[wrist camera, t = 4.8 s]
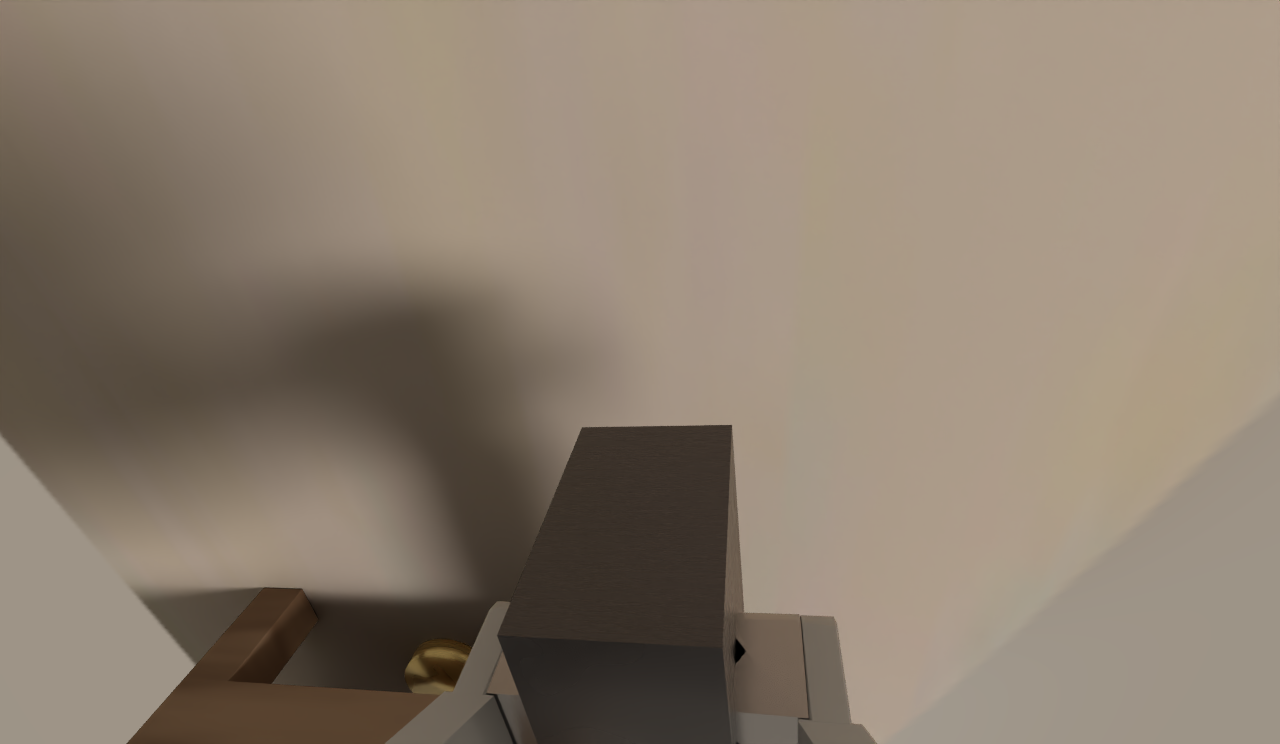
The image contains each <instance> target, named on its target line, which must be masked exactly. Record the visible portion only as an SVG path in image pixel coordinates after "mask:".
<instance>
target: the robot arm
mask: <svg viewBox="0 0 1280 744" xmlns="http://www.w3.org/2000/svg"><path fill="white" fill-rule="evenodd" d="M509 605H510V602H506V601H497V602H496V603H495V604H494V605H493V606H492V607H491V609H490V610H489V612H488V614H487V616H486V618H485V621H484V623H483V625H482V627H481V630H480V632H479V634H478V636H477V639H476V641H475V643H474V645H473V648H472V650H471V652H470V654H469V657H468V659H467V661H466V663H465V666H464V668H463V670H462V672H461V675H460V677H459V679H458V681H457V684H456V686H455V688H454V690H453V692H446V691H444V692H443V693H442V694H441V695H440V696H439V697H438V698H436V699H435V700H434V701H433V702H432V703H431V704H429V705H428V706H427V707H426V708H425V709H424V710H423V711H421V712H420V713H419V714H418V715H417V716H416V717H415V718H413V719H412V720H411V721H410V722H409V723H408V724H407V725H405V726H404V727H403V728H402V729H401V730H400V731H398V732H397V733H396V734H395V735H394V736H393V737H392V738H390V739H389V740H388V741H387V742H386V743H385V744H537V741H536V738H535V736H534V733H533V730H532V728H531V725H530V722H529V720H528V717H527V714H526V712H525V709H524V706H523V704H522V701H521V698H520V696H519V693H518V690H517V688H516V685H515V682H514V680H513V677H512V674H511V672H510V669H509V666H508V664H507V661H506V658H505V656H504V653H503V650H502V648H501V645H500V642H499V640H498V637H497V634H498V631H499V629H500V627H501V624H502V622H503V619H504V617H505V614H506V612H507V609H508V607H509ZM736 647H737V660H738V662H737V663H736V664H735V699H734V715H735V727H736V738H737V742H738V743H739V744H877V743H876V742H875V740H874V739H873V738H872V736H871V735H870V734H869V733H868V731H867V730H866V729H865V727H864V726H863V725H861V724H853V723H851V716H850V709H849V703H848V696H847V689H846V682H845V675H844V669H843V662H842V655H841V648H840V641H839V635H838V628H837V623H836V621H835V619H834V617H832V616H804V615H801V616H800V615H799V614H771V613H738V612H737V617H736Z"/></svg>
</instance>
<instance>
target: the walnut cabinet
mask: <svg viewBox="0 0 1280 744" xmlns="http://www.w3.org/2000/svg"><path fill="white" fill-rule="evenodd" d="M317 621H318V618H317V616H316V614H315V612H314V611H313V609H312V607H311V605H310V603H309V601H308V599H307V597H306V596H305V594H304V592H303V590H302V589H276V588H264V589H263V590H262V591H261V592H260V593H259V594H258V595H257V596H256V598H255V599H254V600H253V601H252V602H251V603H250V604H249V606H248V607H247V608H246V609H245V610H244V611H243V612H242V613H241V615H240V616H239V617H238V618H237V619H236V620H235V621H234V623H233V624H232V625H231V626H230V627H229V628H228V629H227V630H226V632H225V633H224V634H223V635H222V636H221V637H220V638H219V640H218V641H217V642H216V643H215V644H214V645H213V646H212V647H211V649H210V650H209V651H208V652H207V653H206V654H205V655H204V657H203V658H202V659H201V660H200V661H199V662H198V663H197V664H196V666H195V667H194V668H193V669H192V670H191V671H190V672H189V674H188V675H187V676H186V677H185V678H184V679H183V680H182V682H181V683H180V684H179V685H178V686H177V687H176V688H175V689H174V691H173V692H172V693H171V694H170V695H169V696H168V697H167V699H166V700H165V701H164V702H163V703H162V704H161V705H160V706H159V708H158V709H157V710H156V711H155V712H154V713H153V714H152V716H151V717H150V718H149V719H148V720H147V721H146V723H144V725H143V726H142V727H141V728H140V729H139V730H138V731H137V733H136V734H135V735H134V736H133V737H132V738H131V739H130V740H129V742H128V743H127V744H385V743H386V742H387V741H388V740H389V739H390V738H392V737H393V736H394V735H395V734H396V733H397V732H398V731H400V730H401V729H402V728H403V727H404V726H405V725H407V724H408V723H409V722H410V721H411V720H412V719H413V718H415V717H416V716H417V715H418V714H419V713H420V712H421V711H423V710H424V709H425V708H426V707H427V706H428V705H429V704H431V703H432V702H433V701H434V700H435V699H436V698H438V697H439V696H440V695H434V694H419V693H403V692H388V691H373V690H357V689H342V688H326V687H311V686H296V685H280V684H272V682H273V681H274V680H275V678H276V677H277V676H278V674H279V673H280V671H281V670H282V669H283V667H284V666H285V665H286V663H287V662H288V661H289V659H290V658H291V657H292V655H293V654H294V653H295V651H296V650H297V648H298V647H299V646H300V644H301V643H302V642H303V640H304V639H305V638H306V636H307V635H308V634H309V632H310V631H311V629H312V628H313V627H314V625H315V624H316V623H317Z"/></svg>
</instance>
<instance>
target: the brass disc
mask: <svg viewBox="0 0 1280 744" xmlns="http://www.w3.org/2000/svg"><path fill="white" fill-rule="evenodd" d="M472 648H473V647H471V646H469V645H466V644H464V643H461V642H458V641H454V640H448V639H434V640H429V641H426V642H424V643H422V644H421V645H420V646H419V647H418V648H417V649H416V651H415V653H414V654H413V656H412V658H411V660H410V662H409V664H408V666H407V667H406V670H405V681H406V683H407V685H408V687H409V688H410V690H411V691H412V692H413V693H419V694H434V695H441V694H442V693H443V692H444V691H446V692H453V690H454V688H455V686H456V684H457V681H458V679H459V677H460V675H461V672H462V670H463V668H464V666H465V663H466V661H467V659H468V657H469V654H470V652H471V650H472Z"/></svg>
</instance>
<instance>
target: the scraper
mask: <svg viewBox="0 0 1280 744" xmlns="http://www.w3.org/2000/svg"><path fill="white" fill-rule="evenodd" d="M737 612H738V613H744V603H743V587H742V572H741V557H740V541H739V526H738V511H737V496H736V480H735V465H734V450H733V434H732V425H704V426H643V427H582V429H581V431H580V434H579V436H578V439H577V441H576V443H575V446H574V448H573V451H572V453H571V456H570V458H569V461H568V463H567V465H566V468H565V470H564V473H563V475H562V478H561V480H560V482H559V485H558V487H557V490H556V492H555V495H554V497H553V500H552V502H551V504H550V507H549V509H548V512H547V514H546V517H545V519H544V522H543V524H542V526H541V529H540V531H539V534H538V536H537V539H536V541H535V544H534V546H533V548H532V551H531V553H530V556H529V558H528V561H527V563H526V565H525V568H524V570H523V573H522V575H521V578H520V580H519V583H518V585H517V587H516V590H515V592H514V595H513V597H512V600H511V602H510V605H509V607H508V609H507V612H506V614H505V617H504V619H503V622H502V624H501V627H500V629H499V631H498V634H497V637H498V640H499V642H500V645H501V648H502V650H503V653H504V656H505V658H506V661H507V664H508V666H509V669H510V672H511V674H512V677H513V680H514V682H515V685H516V688H517V690H518V693H519V696H520V698H521V701H522V704H523V706H524V709H525V712H526V714H527V717H528V720H529V722H530V725H531V728H532V730H533V733H534V736H535V738H536V741H537V744H739V743H738V742H737V738H736V727H735V715H734V699H735V664H736V663H737V662H738V660H737V647H736V617H737Z"/></svg>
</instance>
